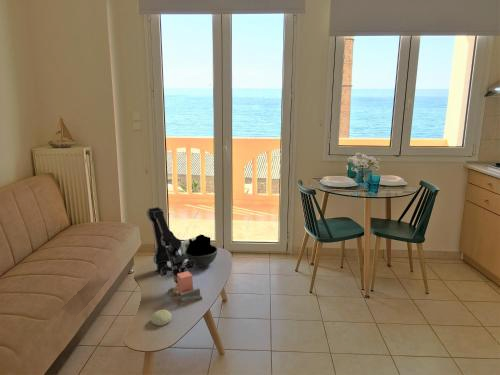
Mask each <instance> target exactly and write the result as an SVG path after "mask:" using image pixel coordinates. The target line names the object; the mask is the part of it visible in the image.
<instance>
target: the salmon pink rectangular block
mask: <svg viewBox="0 0 500 375" xmlns="http://www.w3.org/2000/svg"><path fill="white" fill-rule="evenodd" d="M176 278H177V279H176V281H177V287H178V293H179V294H181V293H184V292H188V291H191V290H193V288H194V285H193V284H194V281H193V274H192V273H190V272H189V271H188V270H185V271H184V272H182V273H179V274H177V277H176Z"/></svg>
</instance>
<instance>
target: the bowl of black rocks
mask: <svg viewBox="0 0 500 375" xmlns="http://www.w3.org/2000/svg"><path fill="white" fill-rule="evenodd" d="M195 237H196V239H195V240H193V241H192V239H191V238H188V239H189V246H188V248H187V249H186V250H185V253H186V255H187V259H186V260H187V261H189V260H194V261H195V263H196V264H195V265H194V267H200V268H201V267H207V266H208V265H210V264H212V263H213V262H214V261H215V259H216V257H217V255H218V247H217V246H215V245H213V244H211V237H210V236H206V235H204V234H199V235H197V236H195Z"/></svg>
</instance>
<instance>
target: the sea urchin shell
mask: <svg viewBox="0 0 500 375" xmlns="http://www.w3.org/2000/svg"><path fill="white" fill-rule="evenodd" d="M172 318H173V316H172V313H171V312H170V311H169V310H167V309H160V310H157V311H155V312H154V313H153V314H152V316H151V320H150V321H151V323H152V324H153V325H156V326H165V325H166V324H168V323H170V322H171V321H172Z"/></svg>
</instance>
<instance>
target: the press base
mask: <svg viewBox="0 0 500 375" xmlns="http://www.w3.org/2000/svg"><path fill="white" fill-rule="evenodd" d="M167 292H168V293H169V295H170V296H171V295H172V296H171V297H172V299H174V300H175V302H176V303H177V304H178V306H179V307H183V306H186V305H187V306H188V305H190V304H192V303H196V302H200V301H202V300H203V296H202V295H201V290H200V288H194V287H193V290H191V291H188V292H184V293H181V294H179V293H178V286H176V287H170V288H168V289H167Z"/></svg>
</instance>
